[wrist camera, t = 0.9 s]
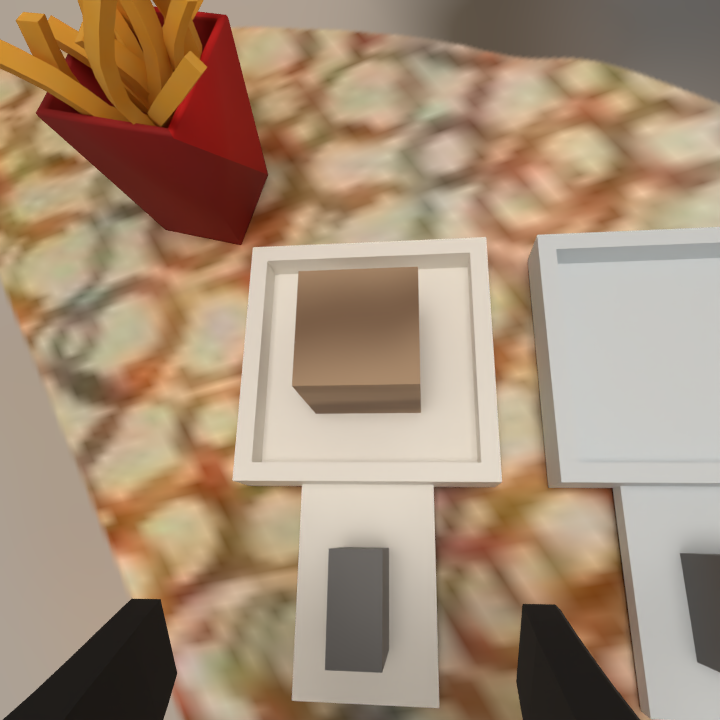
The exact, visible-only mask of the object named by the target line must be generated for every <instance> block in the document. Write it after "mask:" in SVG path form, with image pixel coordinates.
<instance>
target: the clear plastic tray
mask: <svg viewBox="0 0 720 720" xmlns="http://www.w3.org/2000/svg"><path fill="white" fill-rule="evenodd" d="M528 269H529V280H530V291H531V302H532V313H533V324H534V335H535V346H536V357H537V368H538V379H539V390H540V401H541V412H542V423H543V434H544V445H545V456H546V467H547V478H548V488H613V495H614V503H615V511H616V519H617V527H618V534H619V542H620V550H621V558H622V566H623V574H624V582H625V589H626V597H627V605H628V613H629V621H630V629H631V637H632V644H633V652H634V660H635V668H636V676H637V684H638V692H639V700H640V707H641V711H642V712H643V713H644V714H645V715H647V716H648V717H649V718H650V719H662V720H720V227H708V228H685V229H663V230H640V231H617V232H594V233H571V234H548V235H537V237H536V240H535V242H534V245H533V248H532V250H531V253H530V256H529V258H528Z"/></svg>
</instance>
